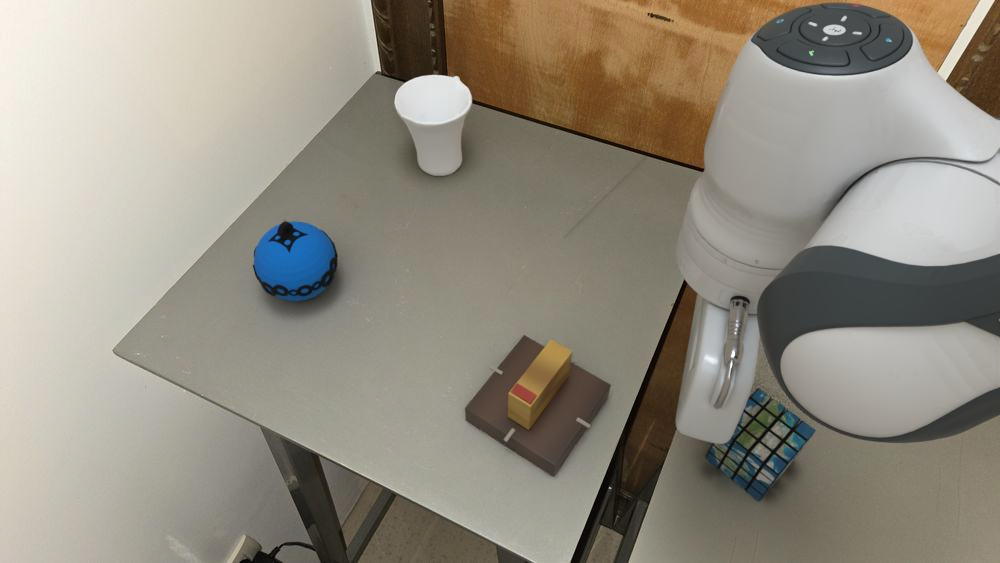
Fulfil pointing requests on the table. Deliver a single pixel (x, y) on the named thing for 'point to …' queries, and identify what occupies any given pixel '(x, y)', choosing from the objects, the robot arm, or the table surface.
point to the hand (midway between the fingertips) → (703, 358)
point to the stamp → (539, 384)
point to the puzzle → (761, 445)
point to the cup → (435, 120)
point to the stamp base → (556, 422)
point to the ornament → (295, 261)
